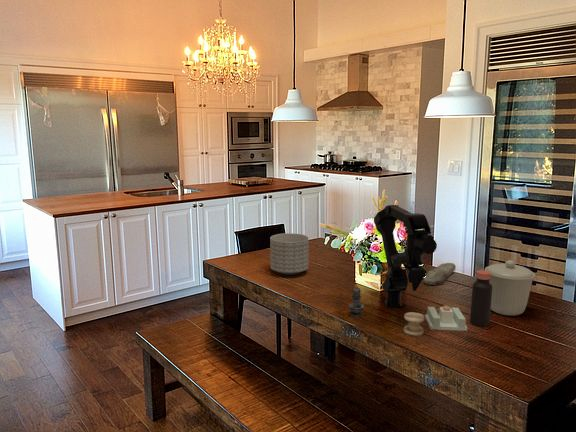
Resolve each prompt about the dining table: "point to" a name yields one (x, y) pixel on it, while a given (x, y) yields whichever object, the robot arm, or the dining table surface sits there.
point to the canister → (509, 287)
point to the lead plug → (446, 314)
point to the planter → (289, 253)
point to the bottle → (481, 299)
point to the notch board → (436, 324)
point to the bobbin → (414, 323)
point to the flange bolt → (356, 303)
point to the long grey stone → (439, 274)
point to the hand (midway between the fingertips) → (412, 286)
